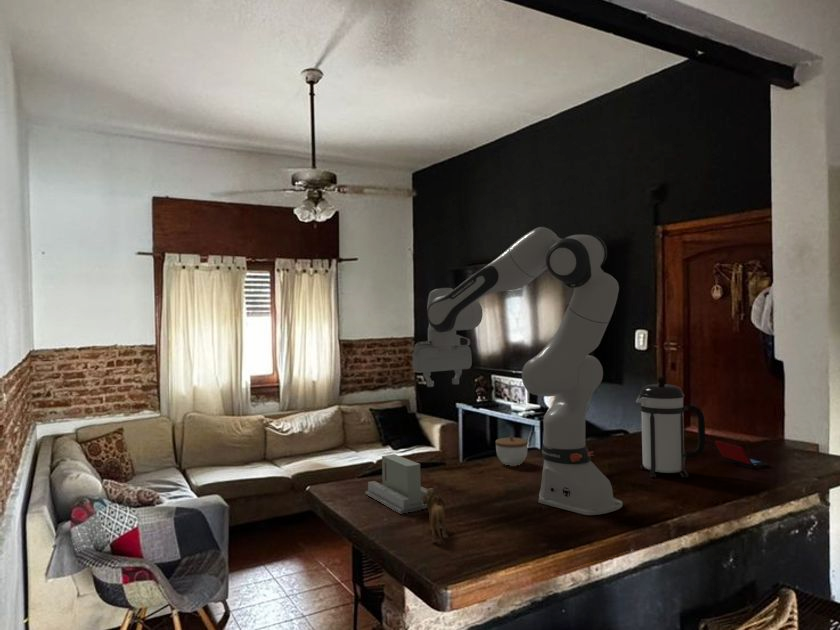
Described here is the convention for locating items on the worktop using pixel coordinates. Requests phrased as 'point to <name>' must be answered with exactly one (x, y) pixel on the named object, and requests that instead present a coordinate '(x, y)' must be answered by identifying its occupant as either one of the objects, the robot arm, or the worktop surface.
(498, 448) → the lidded jar
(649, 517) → the worktop surface
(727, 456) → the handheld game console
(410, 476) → the door panel
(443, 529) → the lion figurine
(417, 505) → the bottom track
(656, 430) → the coffee press
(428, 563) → the worktop surface
